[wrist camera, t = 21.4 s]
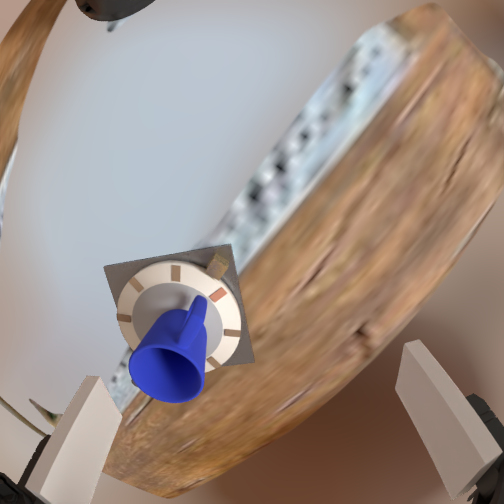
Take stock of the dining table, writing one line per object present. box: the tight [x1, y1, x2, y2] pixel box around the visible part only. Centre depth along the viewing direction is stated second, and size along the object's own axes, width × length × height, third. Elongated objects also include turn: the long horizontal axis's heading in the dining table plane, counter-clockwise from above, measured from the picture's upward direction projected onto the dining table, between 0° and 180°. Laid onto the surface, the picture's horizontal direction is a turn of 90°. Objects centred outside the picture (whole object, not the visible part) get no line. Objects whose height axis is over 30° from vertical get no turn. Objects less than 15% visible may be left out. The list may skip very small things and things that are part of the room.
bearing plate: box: [104, 244, 255, 367], centre depth 38 cm, size 18×18×3 cm
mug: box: [129, 295, 207, 403], centre depth 32 cm, size 8×12×10 cm
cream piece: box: [117, 260, 241, 387], centre depth 35 cm, size 17×17×8 cm
